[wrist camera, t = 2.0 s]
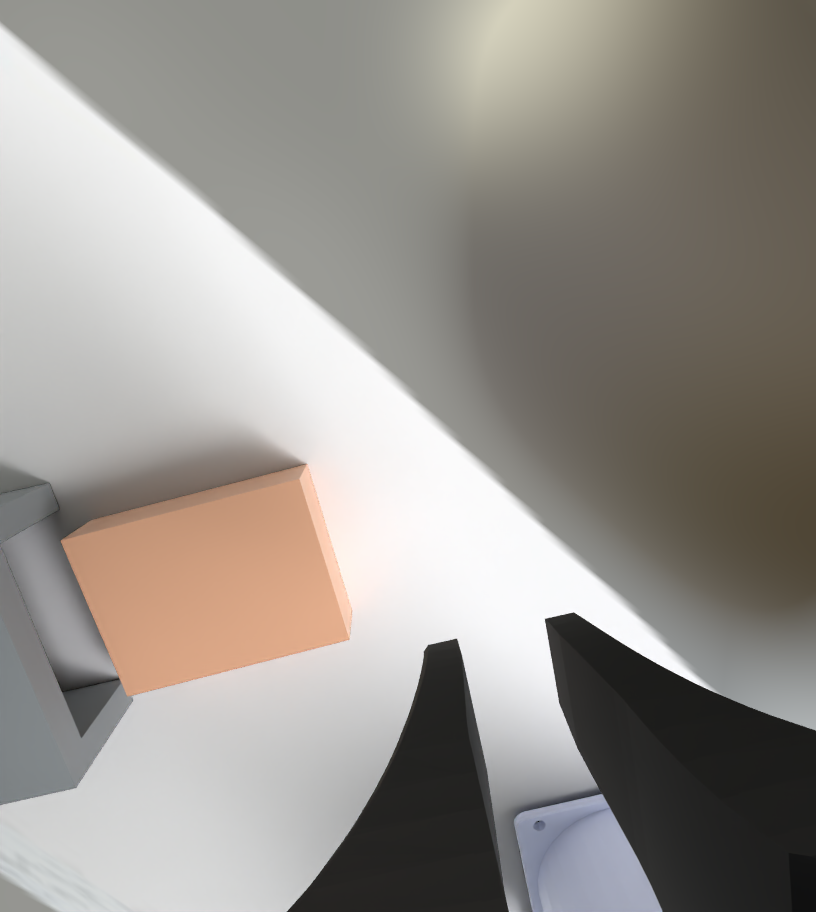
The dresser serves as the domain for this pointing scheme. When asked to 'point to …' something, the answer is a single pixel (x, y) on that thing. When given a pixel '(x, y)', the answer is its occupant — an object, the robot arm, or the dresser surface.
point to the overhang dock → (42, 685)
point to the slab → (212, 580)
